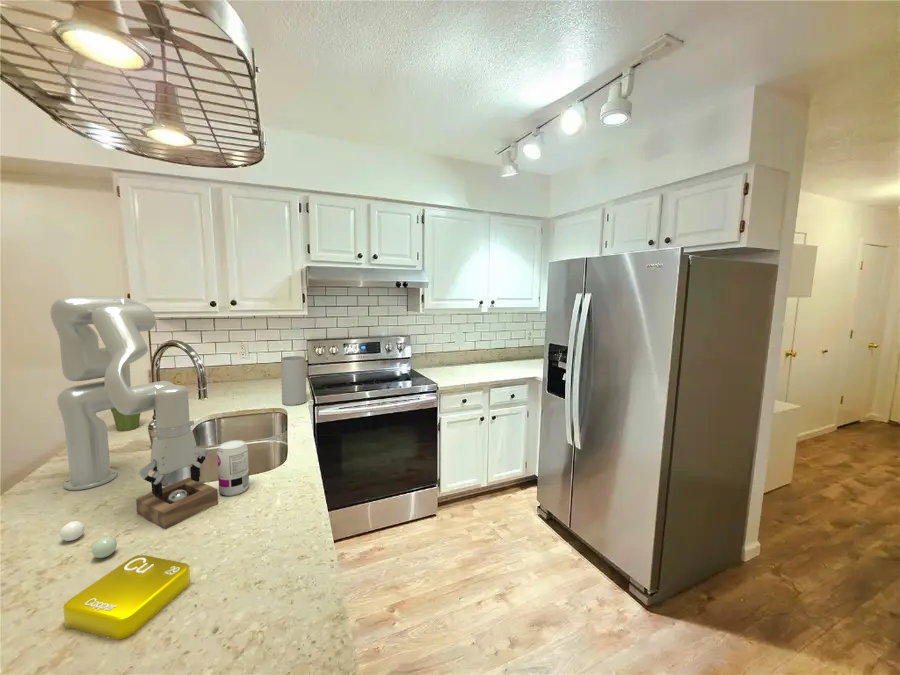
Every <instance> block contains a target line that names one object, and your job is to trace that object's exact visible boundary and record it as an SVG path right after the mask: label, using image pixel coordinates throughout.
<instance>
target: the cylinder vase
mask: <svg viewBox="0 0 900 675" xmlns="http://www.w3.org/2000/svg"><path fill="white" fill-rule="evenodd" d="M306 360H307V358H306V356H302V355H292V356H291V355H290V356H289V355H288V356H283V357H280V369H281V370H280V371H281V372H280V374H281V375H280V376H281V379H280V380H281V402H282V403H281V404H283V405H284V404H285V406H290V405H293V406H297V405H296V404H300V405H302V404H301V403H303V404H305V403H306V402H307V363H306V362H307V361H306ZM304 402H305V403H304Z"/></svg>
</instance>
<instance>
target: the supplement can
mask: <svg viewBox="0 0 900 675" xmlns="http://www.w3.org/2000/svg"><path fill="white" fill-rule="evenodd" d="M216 457H217V475H218V477H217V478H218V494H221V495H223V496H226V497H232V496H237V495H240V494H242V493H244V492H245V491H246V490H247V489H248V488H249V486H250V476H249V475H250V474H249V473H250V472H249V450H248V445H247V443H246V441H245V440H243V439H234V440H227V441H225V442H223V443H221V444H220V445H219V446H218V449H217V450H216Z"/></svg>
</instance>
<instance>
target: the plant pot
mask: <svg viewBox="0 0 900 675" xmlns="http://www.w3.org/2000/svg"><path fill="white" fill-rule="evenodd" d="M110 412H111V413H112V416H113V419H114V420H113V421H114V424H115V427H116V430H117V431H119V432H123V431H127V432H128V431H132V430H135V429H137V428H139V426H140V420H141V419H140V418H141V413H138V414H134V415H123V414H121V413H120V412H118V411H117V410H116V408H112V409H110Z"/></svg>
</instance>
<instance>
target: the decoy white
mask: <svg viewBox="0 0 900 675" xmlns="http://www.w3.org/2000/svg"><path fill="white" fill-rule="evenodd" d="M85 529H86V526H85V524H84V523H83V522H82V521H79V520H74V521H69V522H67V523H66V524H65V525H64V526H63V527H62V528H61V529H60V531H59V537H60V538H61V540H63V541H67V542H72V541H75V540H77V539H78V538H80V537H81V536H82V535H83V534H84V532H85Z"/></svg>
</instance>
